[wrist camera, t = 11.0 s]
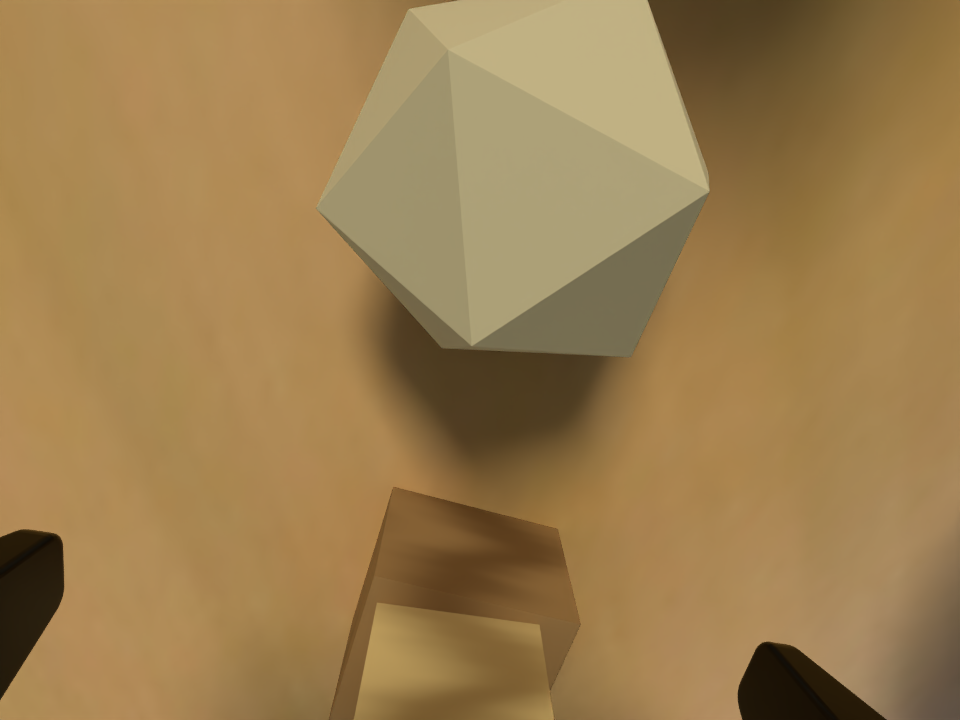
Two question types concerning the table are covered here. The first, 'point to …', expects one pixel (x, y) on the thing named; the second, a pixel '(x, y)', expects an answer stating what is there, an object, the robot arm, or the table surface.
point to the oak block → (452, 668)
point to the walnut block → (461, 578)
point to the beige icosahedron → (523, 174)
